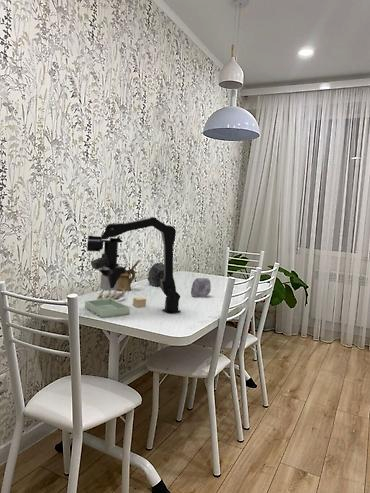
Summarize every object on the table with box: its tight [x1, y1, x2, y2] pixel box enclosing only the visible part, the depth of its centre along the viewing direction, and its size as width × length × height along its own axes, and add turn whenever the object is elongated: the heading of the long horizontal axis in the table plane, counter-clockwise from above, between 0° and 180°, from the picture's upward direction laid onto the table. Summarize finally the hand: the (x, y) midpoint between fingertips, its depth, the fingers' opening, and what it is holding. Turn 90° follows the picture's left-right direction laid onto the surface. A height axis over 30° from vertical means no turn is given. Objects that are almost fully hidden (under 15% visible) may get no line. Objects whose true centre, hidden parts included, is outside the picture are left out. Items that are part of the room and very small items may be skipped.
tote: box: [84, 299, 131, 319], centre depth 171 cm, size 18×13×3 cm
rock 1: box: [147, 262, 164, 287], centre depth 237 cm, size 16×14×15 cm
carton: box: [132, 296, 147, 309], centre depth 184 cm, size 4×4×4 cm
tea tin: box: [100, 273, 118, 292], centre depth 170 cm, size 6×6×6 cm
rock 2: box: [190, 277, 212, 298], centre depth 213 cm, size 10×6×10 cm, turn 118°
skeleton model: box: [96, 287, 127, 301], centre depth 196 cm, size 24×13×5 cm, turn 8°
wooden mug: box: [116, 259, 140, 292], centre depth 218 cm, size 9×14×18 cm, turn 84°
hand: (109, 286), depth 171 cm, fingers closed on tea tin, 5 cm apart
